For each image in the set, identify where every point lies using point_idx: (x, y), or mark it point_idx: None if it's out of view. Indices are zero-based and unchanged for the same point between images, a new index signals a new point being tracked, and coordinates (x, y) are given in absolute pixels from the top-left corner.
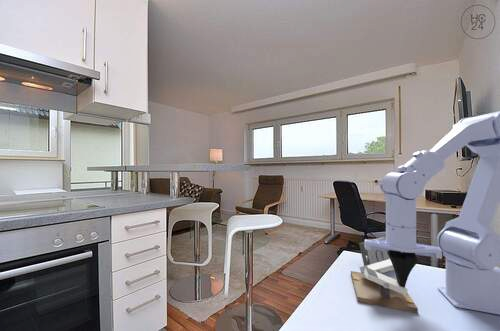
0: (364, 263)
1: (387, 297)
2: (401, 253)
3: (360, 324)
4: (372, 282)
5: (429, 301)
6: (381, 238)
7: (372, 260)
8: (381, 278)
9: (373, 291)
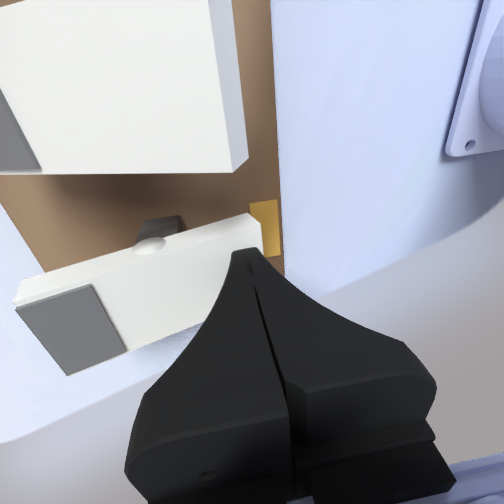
0: None
1: None
2: (302, 480)
3: (122, 384)
4: None
5: (360, 151)
6: None
7: None
8: (147, 330)
9: (122, 242)
